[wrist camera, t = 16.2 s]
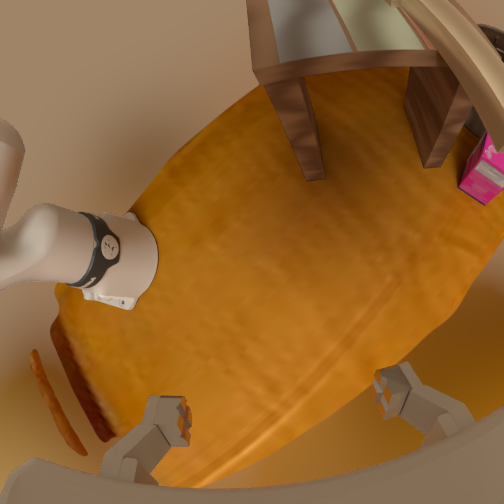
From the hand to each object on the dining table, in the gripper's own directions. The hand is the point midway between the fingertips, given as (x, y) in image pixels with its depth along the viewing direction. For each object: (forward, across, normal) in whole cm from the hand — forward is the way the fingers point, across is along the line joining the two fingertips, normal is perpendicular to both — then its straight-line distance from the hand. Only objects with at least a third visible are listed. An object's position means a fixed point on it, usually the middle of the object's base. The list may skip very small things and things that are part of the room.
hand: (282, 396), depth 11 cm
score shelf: (+36, -20, -8) cm, 42 cm away
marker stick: (+11, -17, -18) cm, 27 cm away
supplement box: (+27, -36, -3) cm, 44 cm away
